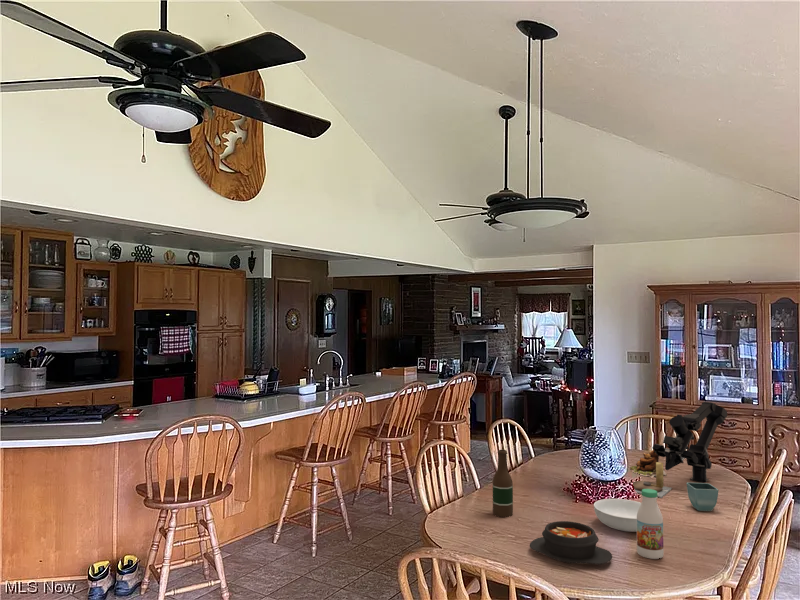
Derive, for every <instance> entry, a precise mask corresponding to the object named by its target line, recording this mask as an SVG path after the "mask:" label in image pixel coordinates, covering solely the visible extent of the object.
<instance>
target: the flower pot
mask: <svg viewBox="0 0 800 600" xmlns="http://www.w3.org/2000/svg"><path fill="white" fill-rule="evenodd" d="M686 491H687V497H688V499H689V502H690V503H691V506H692V507H693V508H694V509H696V510H697V511H699V512H700V511H703V512H712V511H714V508H716V505H717V503H718V496H719V489H718V488H717V487H715V486H714V485H712V484H711V483H707V482H706V483H704V482H686Z"/></svg>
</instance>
